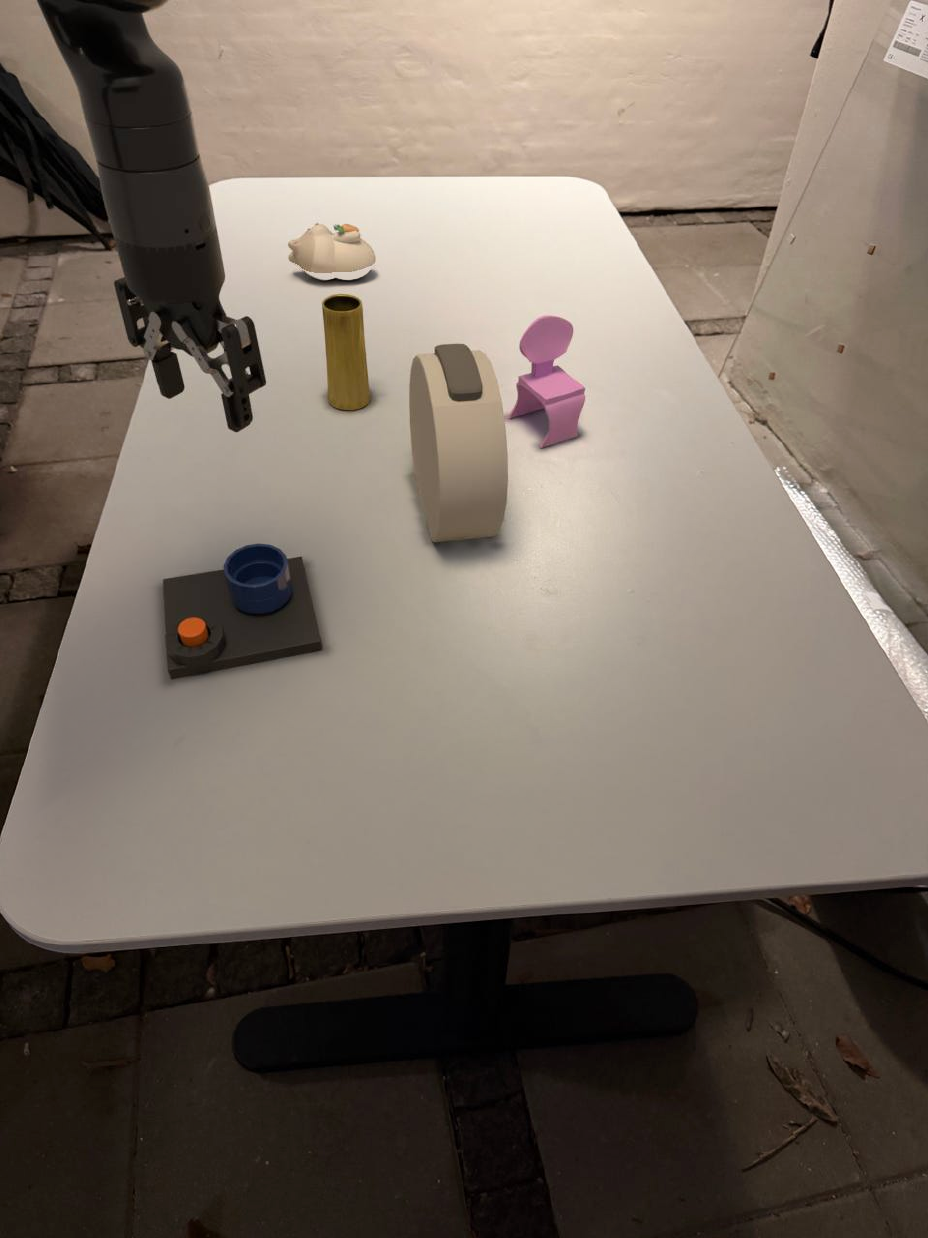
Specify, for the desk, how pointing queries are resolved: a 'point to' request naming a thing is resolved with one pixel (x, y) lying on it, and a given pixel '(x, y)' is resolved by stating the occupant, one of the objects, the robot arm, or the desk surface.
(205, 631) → the button
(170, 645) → the scale
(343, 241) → the cat figurine
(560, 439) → the toy chair
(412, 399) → the alarm clock
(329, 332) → the vase
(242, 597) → the bowl
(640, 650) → the desk surface
